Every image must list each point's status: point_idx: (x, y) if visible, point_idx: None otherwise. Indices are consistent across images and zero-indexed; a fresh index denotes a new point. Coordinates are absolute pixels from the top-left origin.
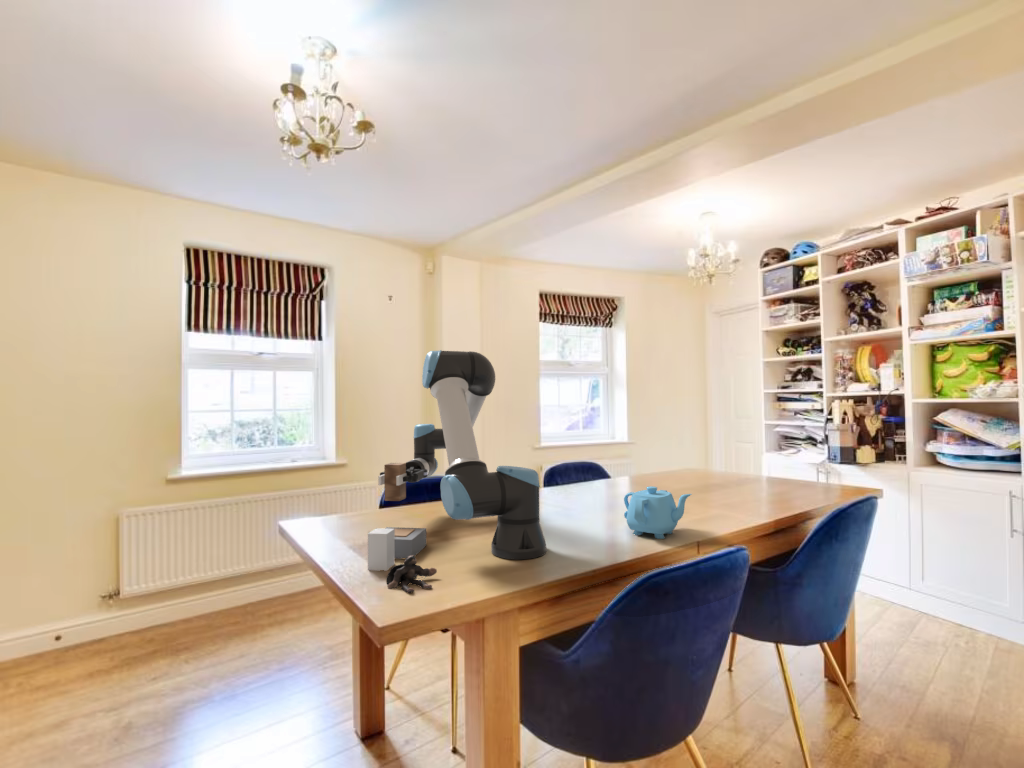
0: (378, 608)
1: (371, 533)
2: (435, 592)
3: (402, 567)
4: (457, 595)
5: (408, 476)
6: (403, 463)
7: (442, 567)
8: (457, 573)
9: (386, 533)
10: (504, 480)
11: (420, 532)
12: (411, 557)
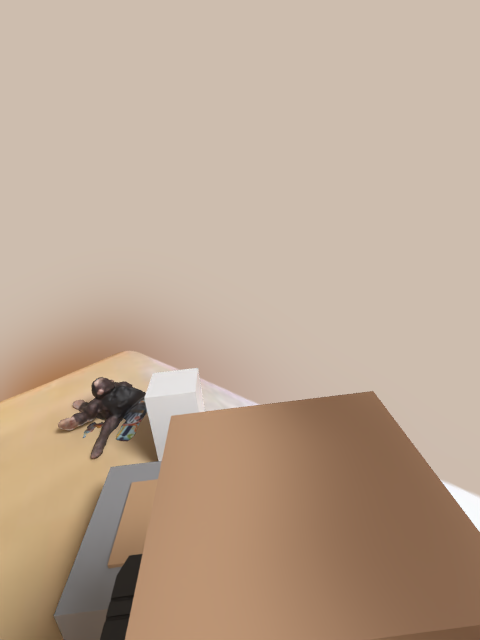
0: (141, 364)
1: (189, 369)
2: (69, 400)
3: (116, 382)
4: (37, 401)
5: (102, 633)
6: (158, 557)
7: (41, 479)
8: (14, 460)
9: (154, 375)
10: None
11: (83, 543)
12: (98, 378)
